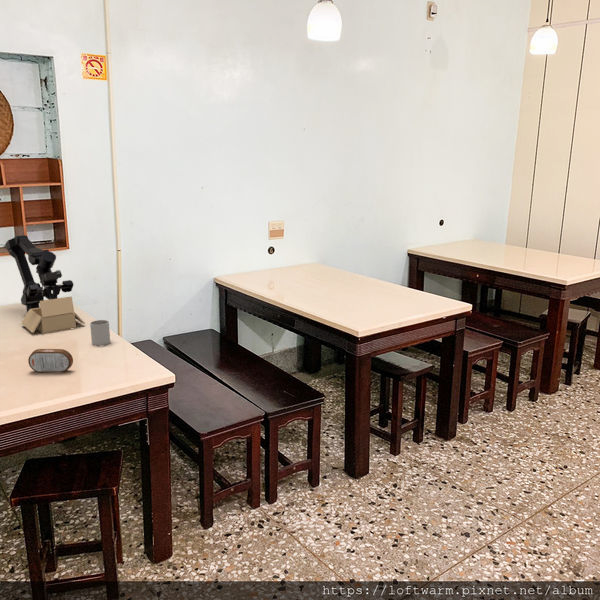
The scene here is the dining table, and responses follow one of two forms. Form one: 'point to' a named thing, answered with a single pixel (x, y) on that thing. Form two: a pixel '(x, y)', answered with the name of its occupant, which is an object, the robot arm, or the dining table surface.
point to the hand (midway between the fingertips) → (55, 304)
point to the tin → (50, 360)
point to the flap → (56, 306)
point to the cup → (100, 332)
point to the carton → (49, 321)
